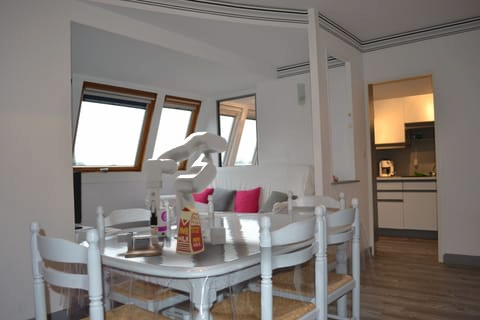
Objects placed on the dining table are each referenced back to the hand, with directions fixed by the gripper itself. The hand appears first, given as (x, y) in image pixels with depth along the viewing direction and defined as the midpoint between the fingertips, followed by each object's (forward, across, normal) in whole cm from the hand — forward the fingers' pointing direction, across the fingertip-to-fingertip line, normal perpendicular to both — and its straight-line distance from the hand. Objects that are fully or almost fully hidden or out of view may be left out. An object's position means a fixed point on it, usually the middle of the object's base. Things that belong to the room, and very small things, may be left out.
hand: (153, 225), depth 175 cm
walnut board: (+9, -12, +3) cm, 15 cm away
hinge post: (+8, -12, +9) cm, 17 cm away
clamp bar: (+5, -12, +6) cm, 14 cm away
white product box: (+9, +23, -1) cm, 25 cm away
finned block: (+8, -12, +4) cm, 15 cm away
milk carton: (+9, -20, -16) cm, 27 cm away
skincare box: (+9, -6, -29) cm, 31 cm away
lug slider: (+8, -7, -1) cm, 10 cm away
